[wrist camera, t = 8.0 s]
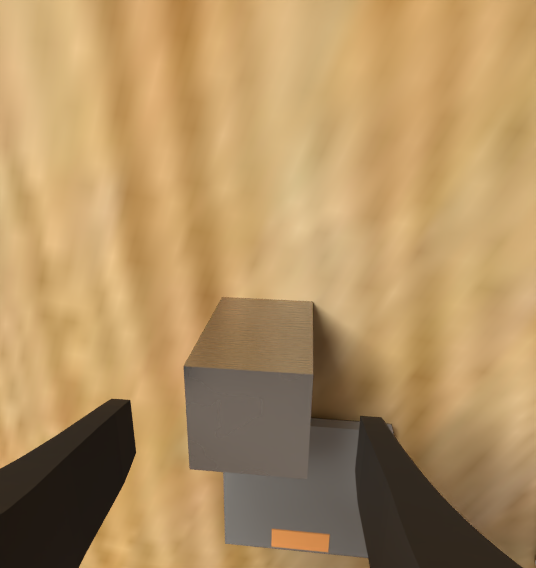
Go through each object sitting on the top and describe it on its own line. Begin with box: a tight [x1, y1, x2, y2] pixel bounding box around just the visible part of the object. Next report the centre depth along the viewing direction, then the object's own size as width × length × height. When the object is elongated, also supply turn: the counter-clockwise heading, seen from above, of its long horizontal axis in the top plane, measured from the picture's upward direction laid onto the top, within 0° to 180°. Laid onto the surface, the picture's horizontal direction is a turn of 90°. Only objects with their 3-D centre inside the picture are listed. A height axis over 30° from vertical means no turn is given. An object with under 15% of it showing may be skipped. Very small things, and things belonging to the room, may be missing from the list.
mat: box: [223, 418, 393, 558], centre depth 21 cm, size 8×8×1 cm
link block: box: [184, 297, 313, 479], centre depth 16 cm, size 4×4×6 cm
